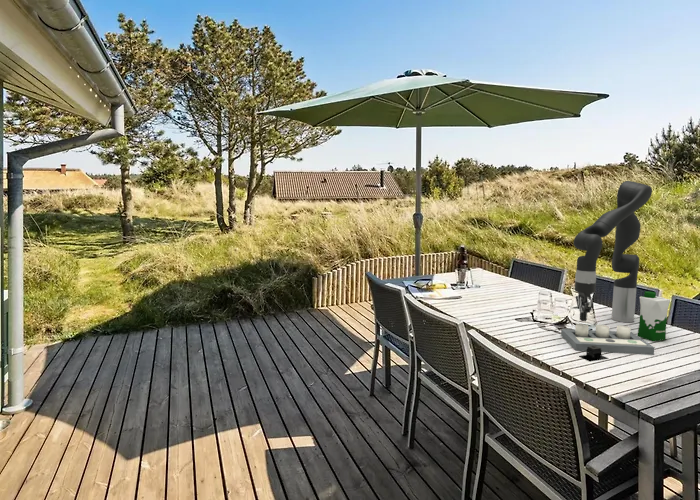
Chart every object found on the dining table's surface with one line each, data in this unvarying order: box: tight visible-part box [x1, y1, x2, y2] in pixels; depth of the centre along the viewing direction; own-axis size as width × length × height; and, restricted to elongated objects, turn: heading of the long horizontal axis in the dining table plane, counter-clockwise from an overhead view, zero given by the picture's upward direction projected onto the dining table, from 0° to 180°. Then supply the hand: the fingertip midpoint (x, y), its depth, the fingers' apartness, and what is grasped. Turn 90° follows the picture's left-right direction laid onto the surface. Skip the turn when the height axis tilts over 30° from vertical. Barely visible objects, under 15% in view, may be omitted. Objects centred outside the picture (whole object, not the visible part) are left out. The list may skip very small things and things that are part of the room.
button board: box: [560, 328, 656, 356], centre depth 164 cm, size 18×28×3 cm, turn 79°
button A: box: [615, 325, 632, 339], centre depth 164 cm, size 5×5×5 cm
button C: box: [574, 323, 590, 337], centre depth 167 cm, size 5×5×5 cm
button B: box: [595, 324, 610, 338], centre depth 166 cm, size 5×5×5 cm
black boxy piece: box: [578, 346, 609, 362], centre depth 151 cm, size 12×7×5 cm, turn 105°
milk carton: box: [636, 290, 671, 343], centre depth 169 cm, size 9×9×20 cm
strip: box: [576, 337, 647, 346], centre depth 159 cm, size 5×24×1 cm, turn 79°
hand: (582, 320), depth 166 cm, fingers closed
